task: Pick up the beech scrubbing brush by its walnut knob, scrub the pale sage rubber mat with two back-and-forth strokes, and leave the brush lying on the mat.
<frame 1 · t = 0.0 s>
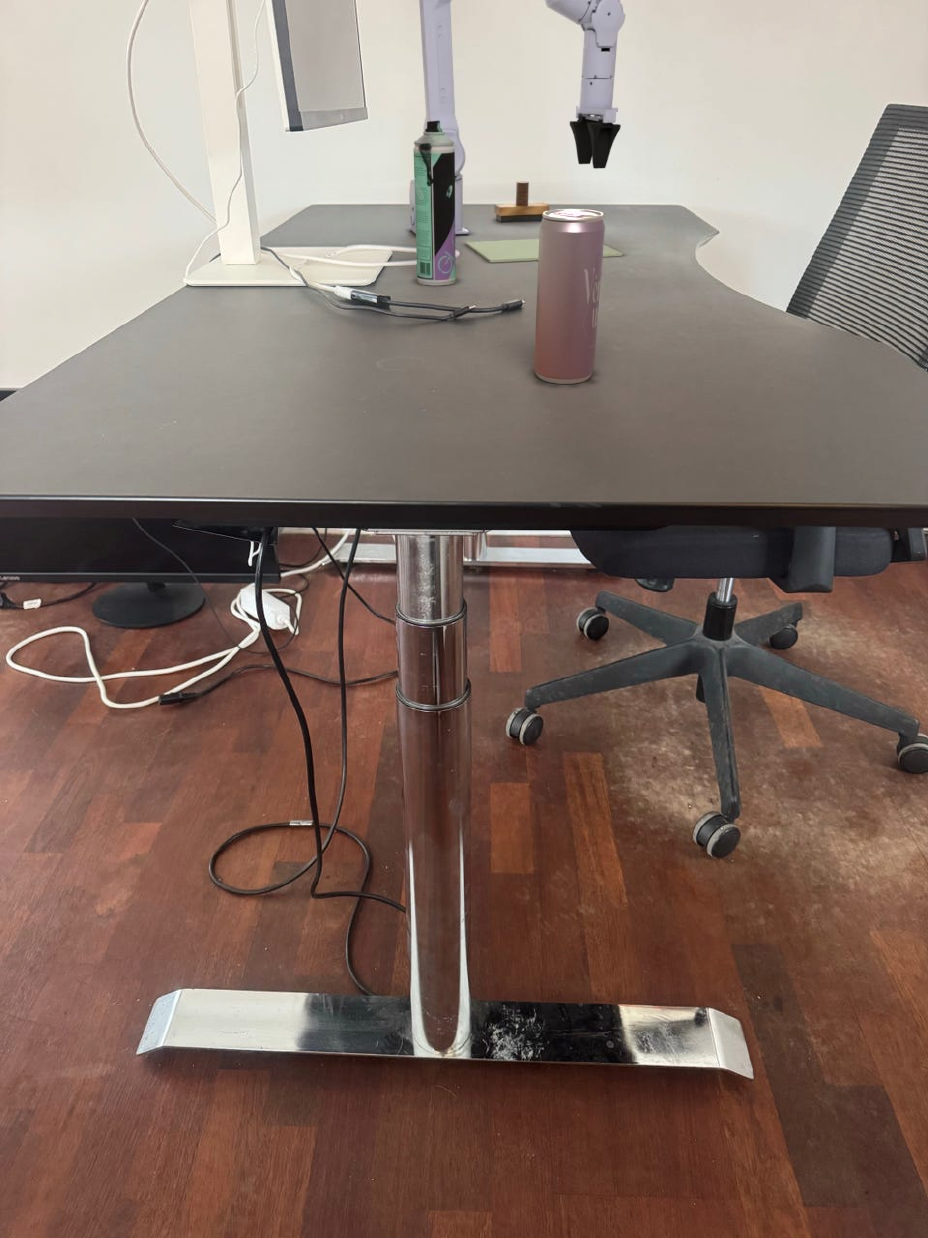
hand: (591, 165, 159), 10 cm above the table, tool pointing down, fingers open, 7 cm apart
beverage can: (563, 378, 88), on the table
spray can: (436, 282, 125), on the table
mat: (541, 249, 144), on the table
brush: (521, 219, 171), on the table
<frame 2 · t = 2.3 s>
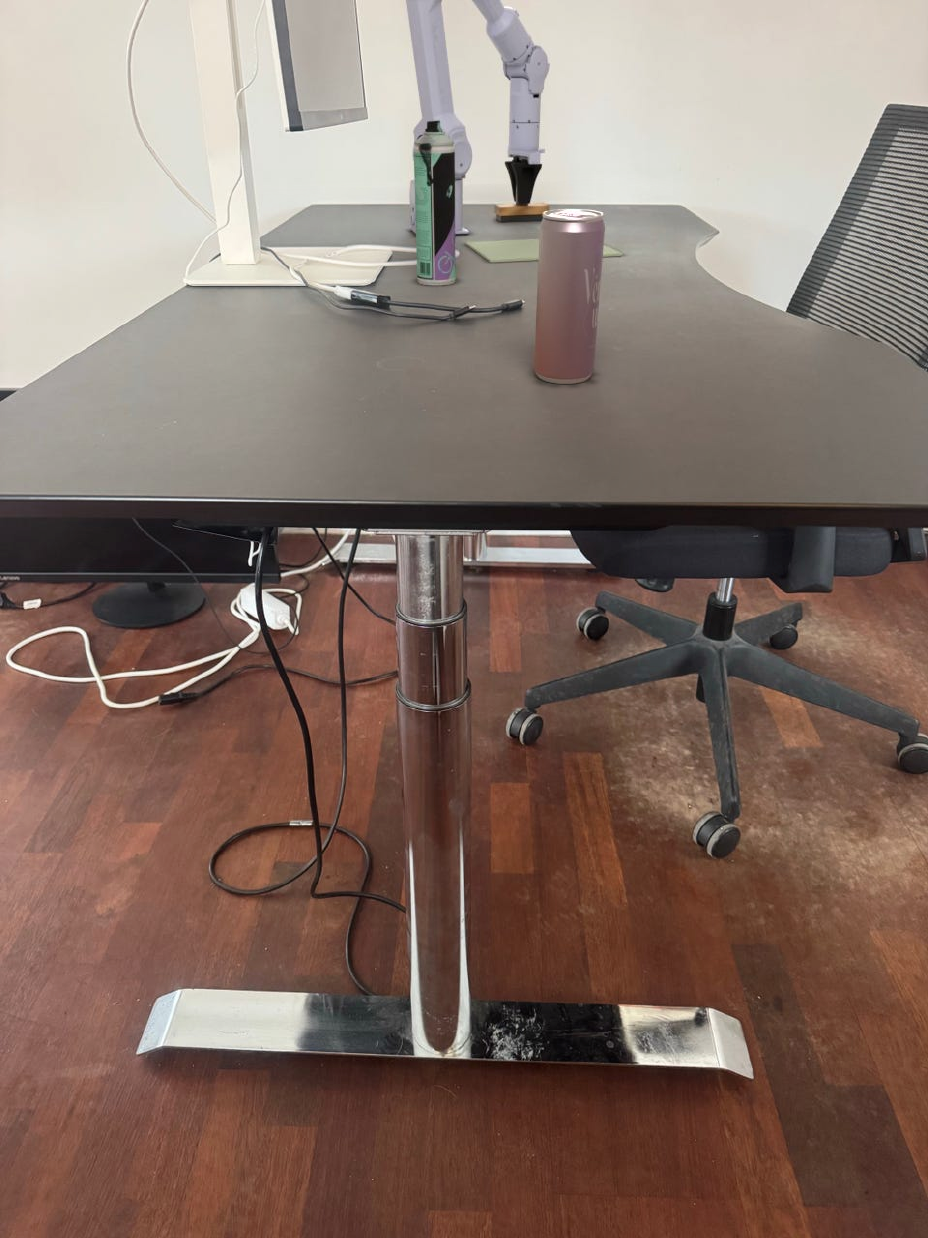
hand: (522, 202, 169), 3 cm above the table, tool pointing down, fingers closed on brush, 2 cm apart
brush: (521, 219, 171), on the table, touching gripper
everything else where it was.
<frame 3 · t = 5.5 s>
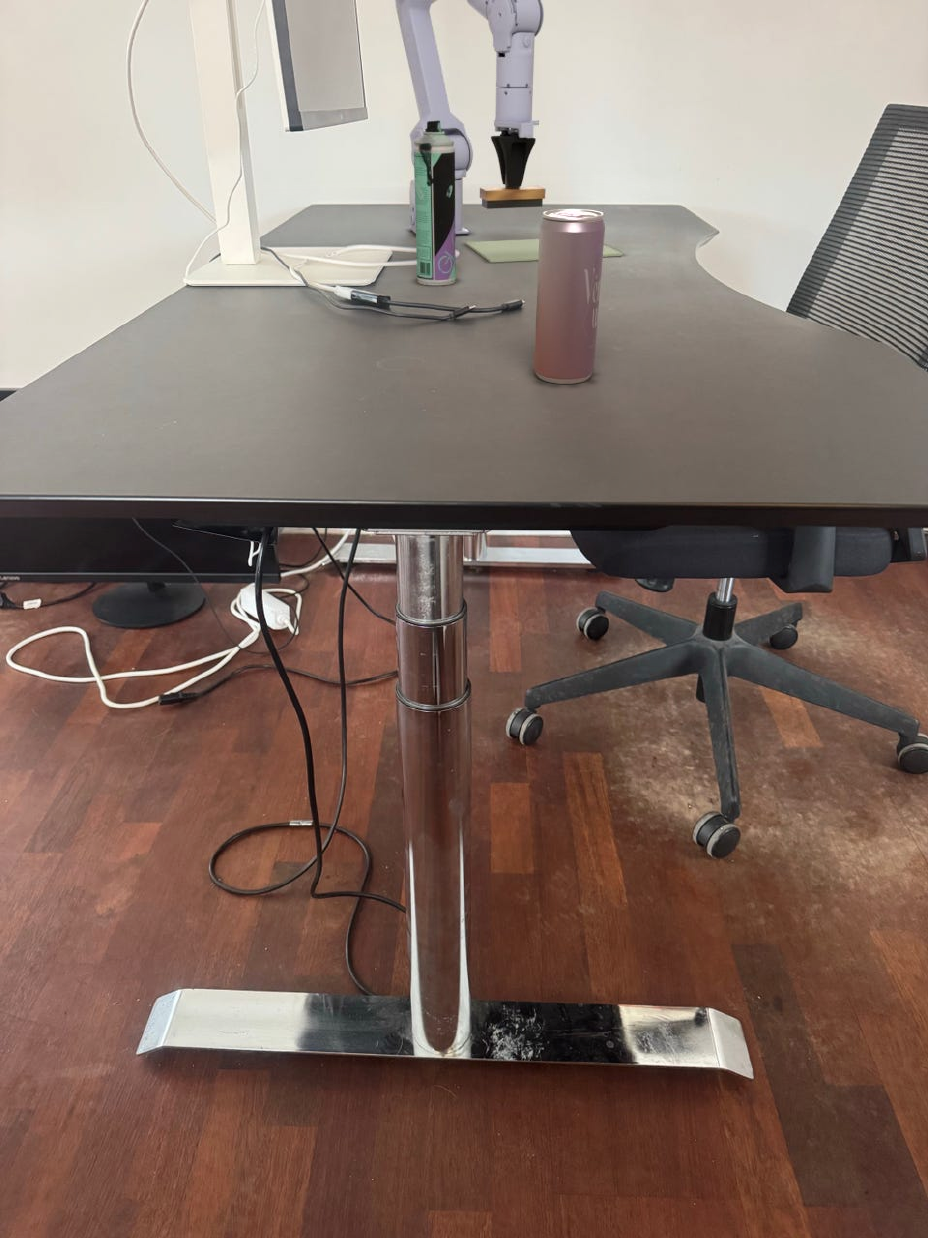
hand: (511, 185, 142), 9 cm above the table, tool pointing down, fingers closed on brush, 2 cm apart
brush: (512, 206, 143), point 6 cm above the table, touching gripper
everything else where it was.
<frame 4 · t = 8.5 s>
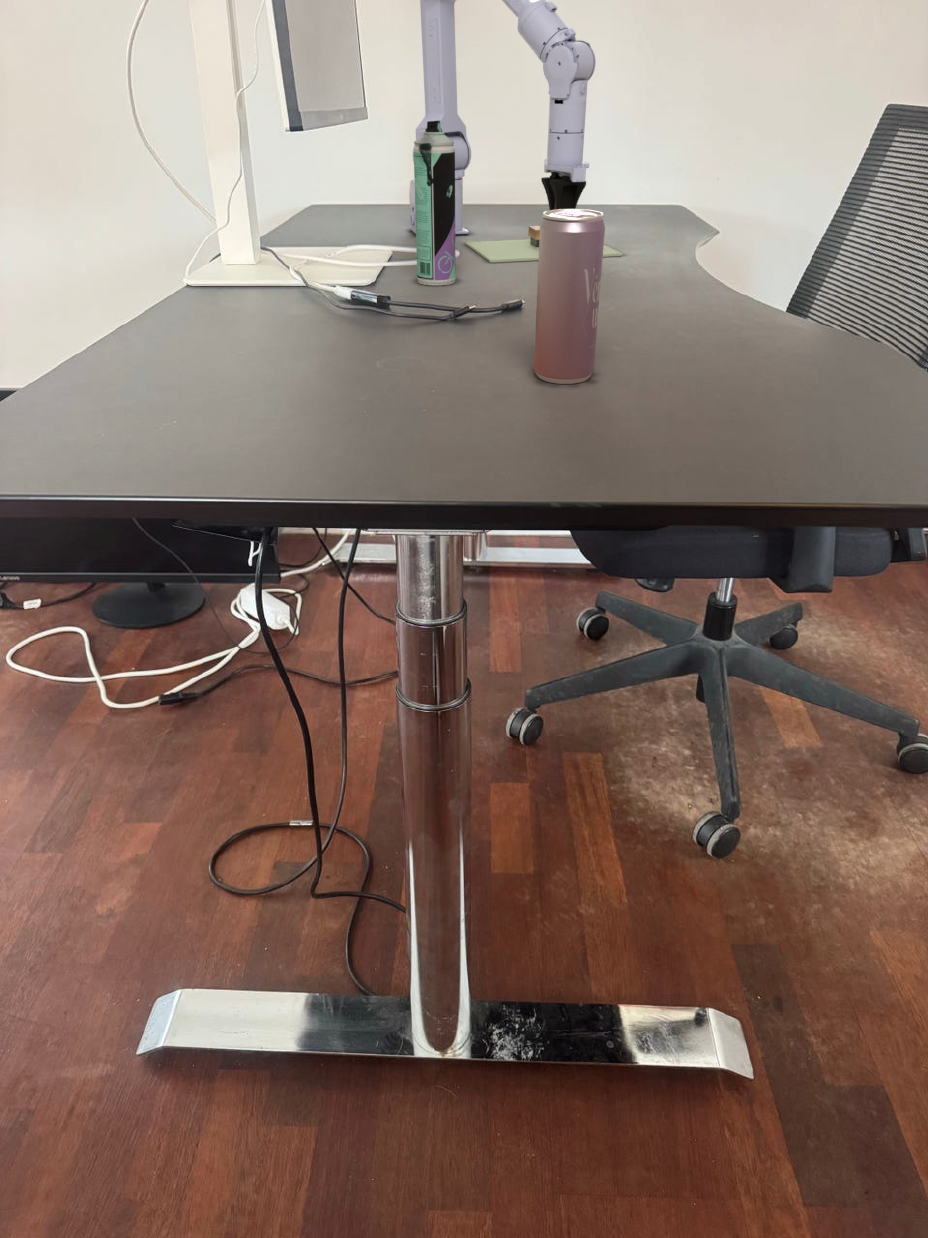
hand: (561, 225, 145), 3 cm above the table, tool pointing down, fingers closed on brush, 2 cm apart
brush: (559, 244, 147), resting on mat, touching gripper
everything else where it was.
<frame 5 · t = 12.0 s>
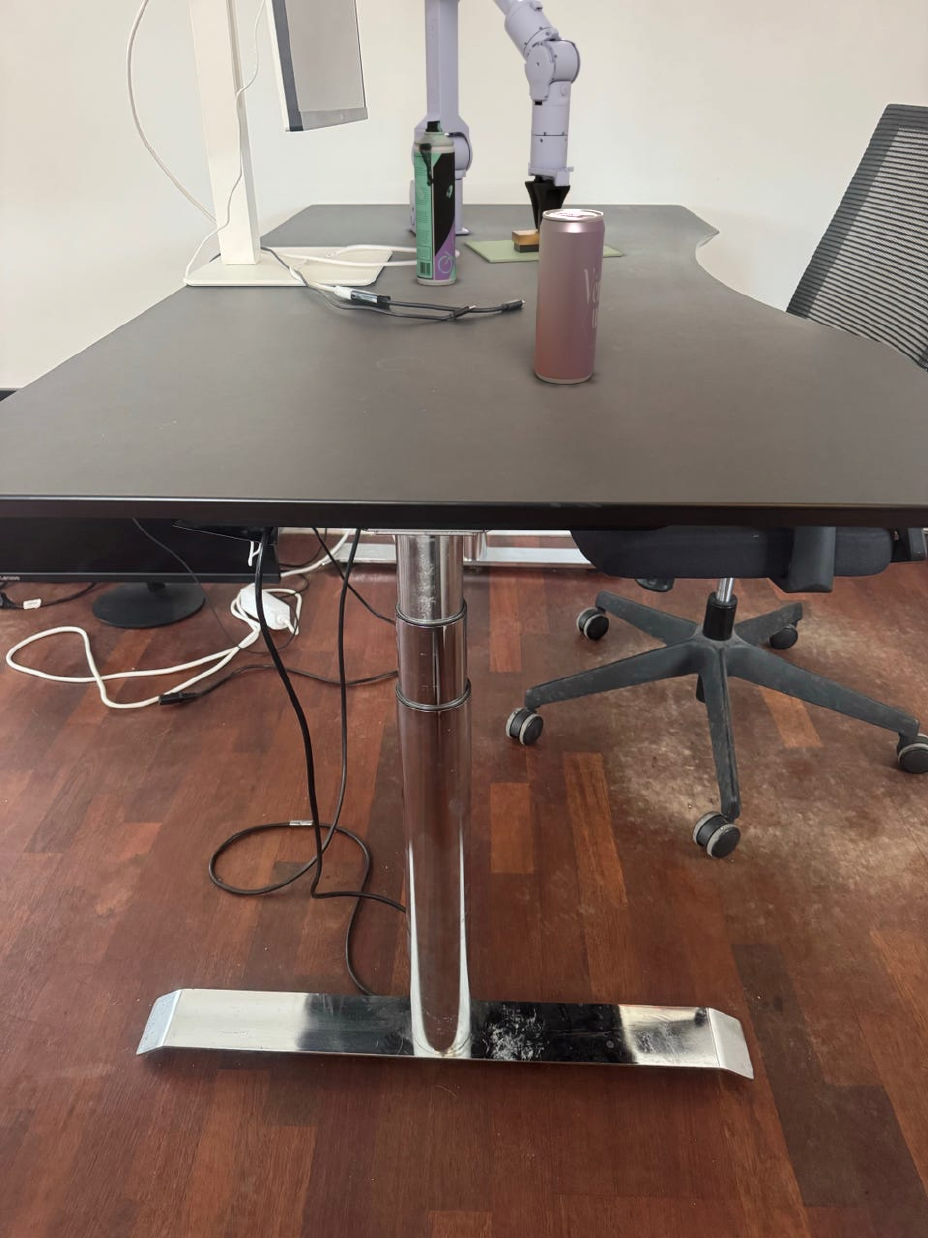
hand: (545, 230, 141), 3 cm above the table, tool pointing down, fingers closed on brush, 2 cm apart
brush: (544, 249, 143), resting on mat, touching gripper
everything else where it was.
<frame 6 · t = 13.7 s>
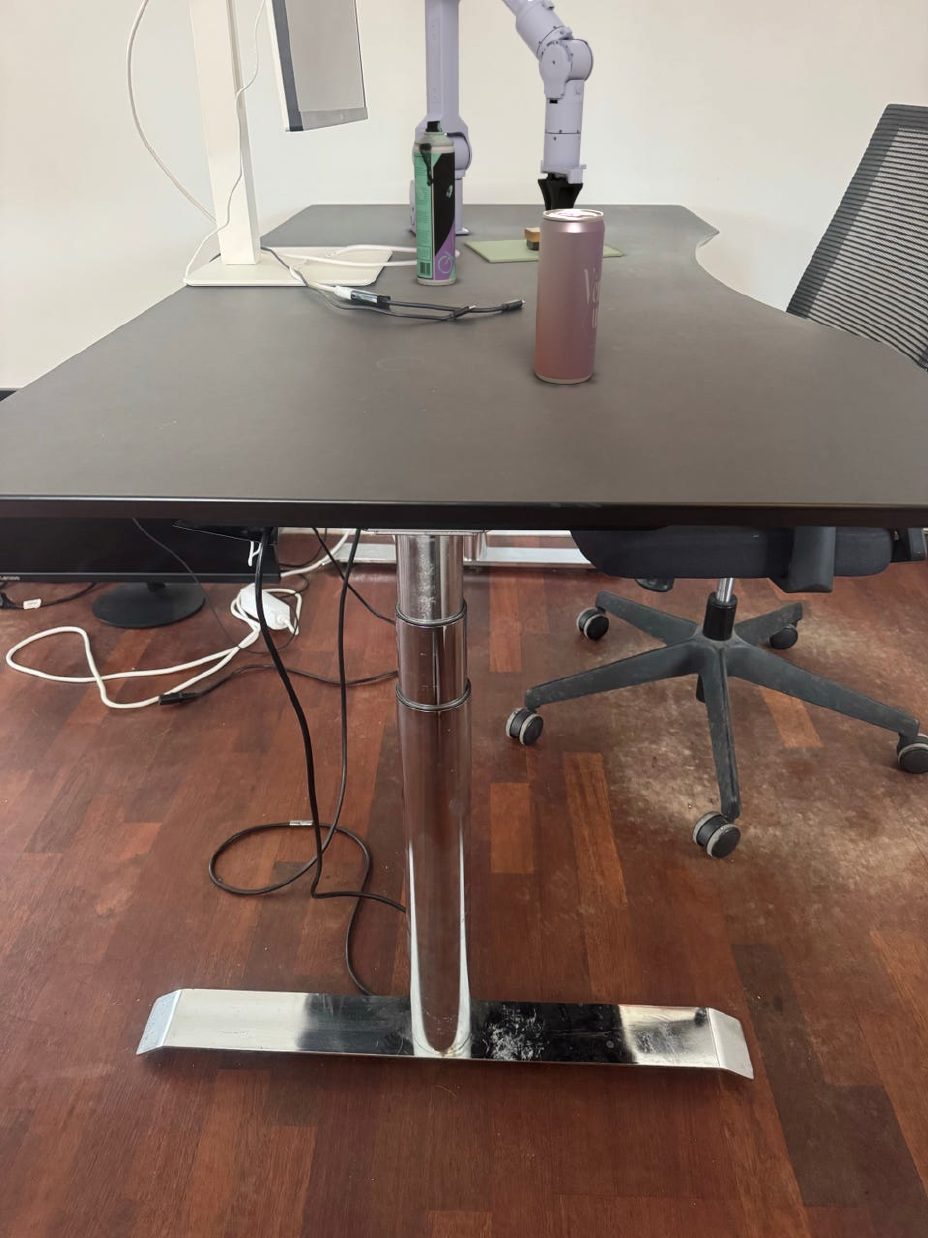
hand: (557, 227, 142), 3 cm above the table, tool pointing down, fingers closed on brush, 2 cm apart
brush: (556, 246, 144), point 1 cm above the table, touching gripper
everything else where it was.
when the fingers open (3 cm above the table, at t = 14.6 s): brush stays where it is, resting on mat.
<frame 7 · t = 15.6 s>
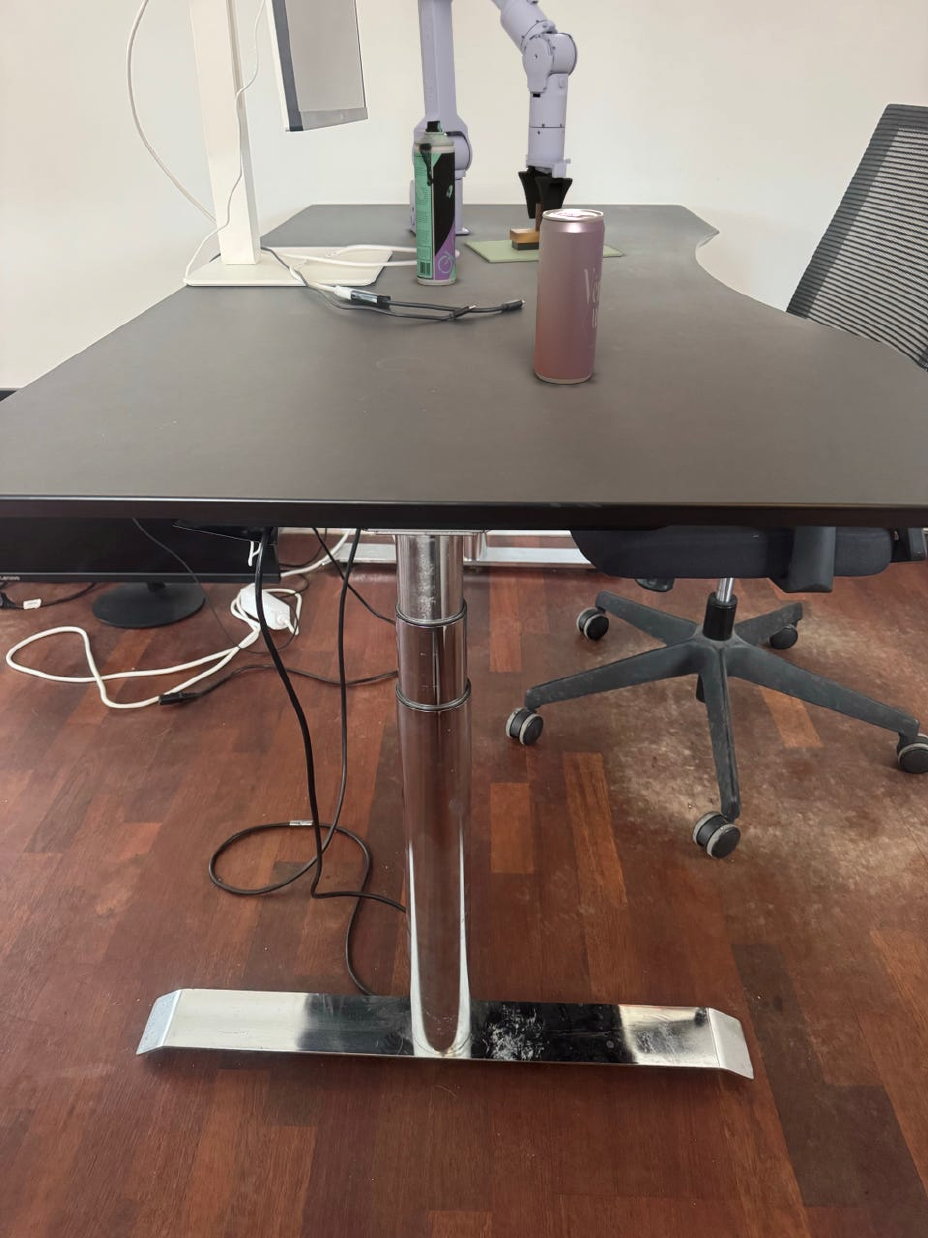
hand: (542, 222, 142), 4 cm above the table, tool pointing down, fingers open, 7 cm apart
brush: (541, 247, 144), resting on mat
everything else where it was.
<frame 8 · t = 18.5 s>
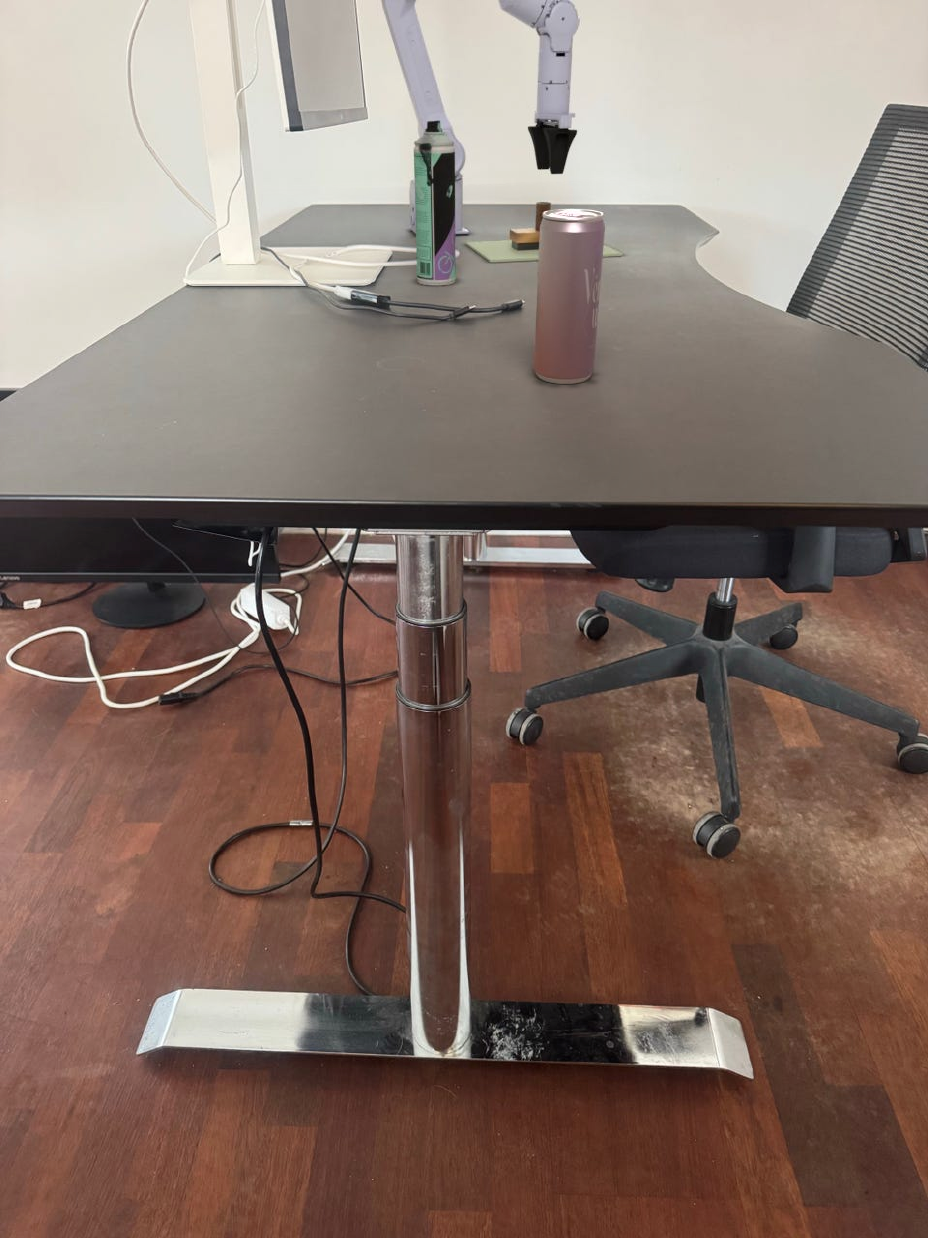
hand: (549, 171, 158), 9 cm above the table, tool pointing down, fingers open, 7 cm apart
nothing on the table moved.
at the end: brush inside the target area on the mat (0.0 cm from its centre), point 0.4 cm above the mat's base; brush tilted 0°; brush moved 31.6 cm from its start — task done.
